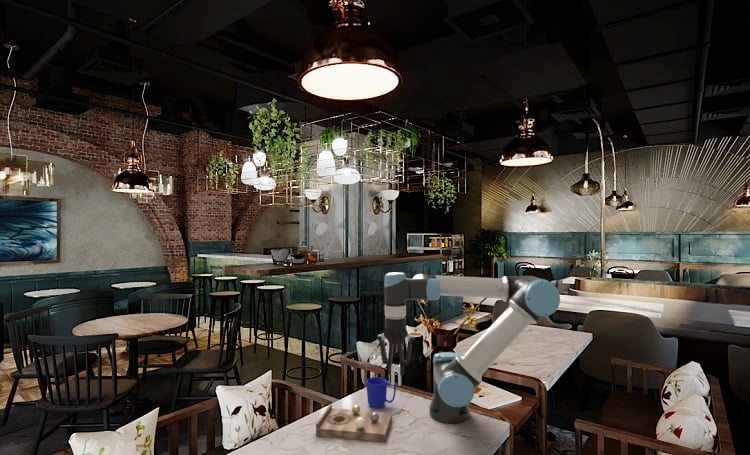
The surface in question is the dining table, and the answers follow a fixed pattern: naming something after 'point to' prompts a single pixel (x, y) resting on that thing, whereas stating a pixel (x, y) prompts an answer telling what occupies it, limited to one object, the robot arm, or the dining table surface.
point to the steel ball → (374, 417)
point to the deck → (353, 425)
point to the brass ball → (356, 409)
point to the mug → (378, 392)
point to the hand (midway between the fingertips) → (396, 383)
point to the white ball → (360, 422)
